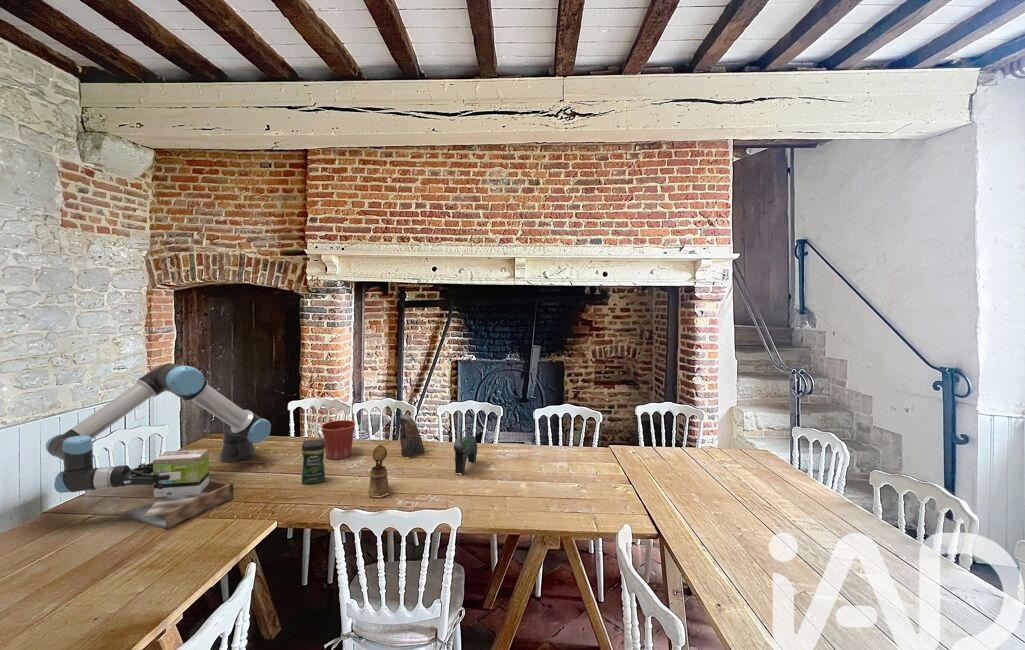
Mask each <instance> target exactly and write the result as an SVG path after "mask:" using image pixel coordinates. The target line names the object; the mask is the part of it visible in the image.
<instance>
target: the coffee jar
mask: <svg viewBox="0 0 1025 650" xmlns="http://www.w3.org/2000/svg"><path fill="white" fill-rule="evenodd" d="M324 452H326V450H325V442H324V438H320V439H311V440H310V439H309V440H308V439H307V440H306V439H305V440H303V441H302V444H301V454H302V457H303V458H302V459H303V460H302V471H301V472H302V473H301V483H303V484H304V485H309V483H310V484H317V483H318V482H319V483H322V482H323V481H325V479H326V468H325V459H324V458H325V453H324Z"/></svg>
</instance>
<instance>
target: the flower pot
mask: <svg viewBox="0 0 1025 650" xmlns="http://www.w3.org/2000/svg"><path fill="white" fill-rule="evenodd" d="M355 426H356V422H355V421H353V420H347V419H338V420H332V421H328V422H325V423H323V424H322V425H321V426H320V429H321V430H322V435H323V439H324V443H325V457H326V458H327V459H329V460H330V459H331V460H343V459H347V457H350V456H351V455H352V450H353V440H354V439H353V438H354V432H355Z"/></svg>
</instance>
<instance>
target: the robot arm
mask: <svg viewBox="0 0 1025 650" xmlns="http://www.w3.org/2000/svg"><path fill="white" fill-rule="evenodd" d="M165 392H168V393H169V392H170V393H172V394H173V395H175V396H177V397H178V398H179V399H180V400H182V401H185V402H189V401H192V402H193V403H195V404H196V405H198V406H199V407H201V408H202V409H203V410H206V411H207V412H209V413H210V414H211V415H213V416H215V417H216V418H217V419H219V420H220V421H222V438H223V439H222V440H223V444H222V448H221V451H220V454H219V461H220V462H223V463H236V462H242V461H243V462H244V461H245V460H249V459H251V458H252V457H254V456H255V455H256V449H255V447H254V445H253V444H260V443H262V442H264V441H265V440H267V438H268V437H269V436H270V433H271V431H272V430H271V428H272V424H271V422H270V421H269V420H267V419H265V418H262V417H260V416H258V415H257V414H256V413H254V412H253V411H252V410H249V409H243V408H242V407H240V406H238V405H237V404H236V403H234V402H233V401H232V400H230V399H228V398H227V397H226V396H224V395H223V394H221V393H220V392H219V391H217V390H216V389H214V388H213V387H212V386H210V385H209V380H208V379H207V378H206V377H204V375H203V373H202V372H201V370H199V369H198V368H196V367H193V366H189V365H182V364H178V363H174V362H173V363H171V362H170V363H164V364H162V365H158V367H155V368H154V369H152V370H150V371H149V372H147V373H146V374H144V375H143V376H141V377H139V378H138V379H137V380H136V382H135V384H134V385H132V387H129V388H128V389H127V390H126V391H124V392H123V393H121V394H119V395H118V396H117V397H115V398H114V399H112V400H111V401H110V402H108V403H106V404H105V405H104V406H103V407H102V406H101V407H100V408H99V409H97V411H95V412H93V413H92V414H91V415H89V416H87V417H86V418H84V420H82V421H80V422H79V423H77V424H76V425H75V426H74V427H72V428H70V429H69V430H67V431H66V432H64V433H62V434H61V433H60V434H56V435H54V436H52V437H50V438H49V439H48V440H47V442H46V443H45V450H46V452H47V453H48V454H50V455H51V456H53V457H56V458H58V459H60V460H61V461H63V470H62V471H60V472H59V473H57V475H56V477H55V478H54V483H53V486H54V489H55V491H56V493H59V494H60V493H61V494H64V493H65V494H66V493H76V492H84V491H93V490H101V489H102V490H103V491H105V490H106V489H109V488H110V489H111V488H120V487H126V486H140V485H141V486H152V485H153V486H154V484H155V485H156V484H159V481H168V480H177V479H181V471H180V472H170V473H160V474H159V476H158V475H155V474H153V462H152V463H146V464H138V465H137V466H138V467H135V468H131V467H130V465H125V464H124V465H116V466H104V467H103V466H102V467H94V455H93V454H94V450H93V449H94V444H93V439H95V438H96V437H97V436H99V435H101V434H102V433H103V432H104V431H106V430H107V429H109V428H110V427H111V426H113V425H114V424H115V423H117V422H118V421H119V420H121V419H122V418H124V417H126V415H128V414H129V413H131V412H132V411H134V410H135V409H136V408H138V407H139V406H141V405H142V404H144V403H145V402H146V401H147V400H149V399H150V398H152V397H153V398H155V397H157V396H159V395H160V394H162V393H165Z"/></svg>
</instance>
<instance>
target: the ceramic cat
mask: <svg viewBox="0 0 1025 650" xmlns="http://www.w3.org/2000/svg"><path fill="white" fill-rule="evenodd" d="M465 431H466V432H467V431H468V430H467V429H466V428H465V429H464V430H463V431H462V435H463V436H462V438H461V437H457V438H456V439H455V441H454V444H453V451H454V453H455V455H454V463H455V464H454V465H455V469H454V471H455V473H461V474H462V473H464V474H465V472H466V471H465V470H466V469H465V468H466V464H467V460H468V462H471V463H474V462H475V463H476V462H477V454H478V441H477V438H476V437H475V435H474V432H472V431H471V432H469V433H468V434H467V435H464V434H465ZM471 434H472V435H471ZM475 463H474V464H475Z"/></svg>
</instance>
